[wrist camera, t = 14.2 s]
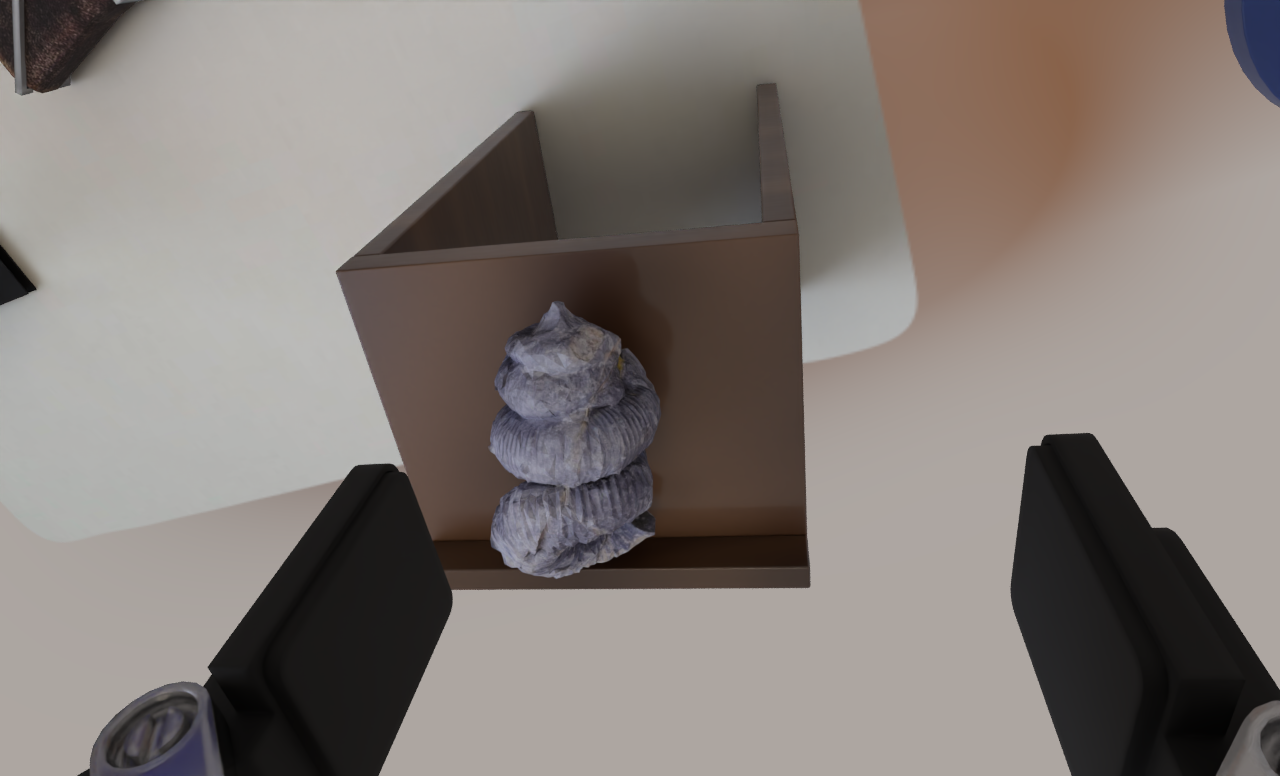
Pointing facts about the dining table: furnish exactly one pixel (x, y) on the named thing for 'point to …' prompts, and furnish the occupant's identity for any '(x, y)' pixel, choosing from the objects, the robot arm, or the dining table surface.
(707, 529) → the shelf
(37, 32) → the book
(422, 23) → the dining table surface
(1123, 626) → the robot arm
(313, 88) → the dining table surface
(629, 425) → the seashell
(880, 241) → the dining table surface
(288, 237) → the dining table surface
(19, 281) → the handbag
